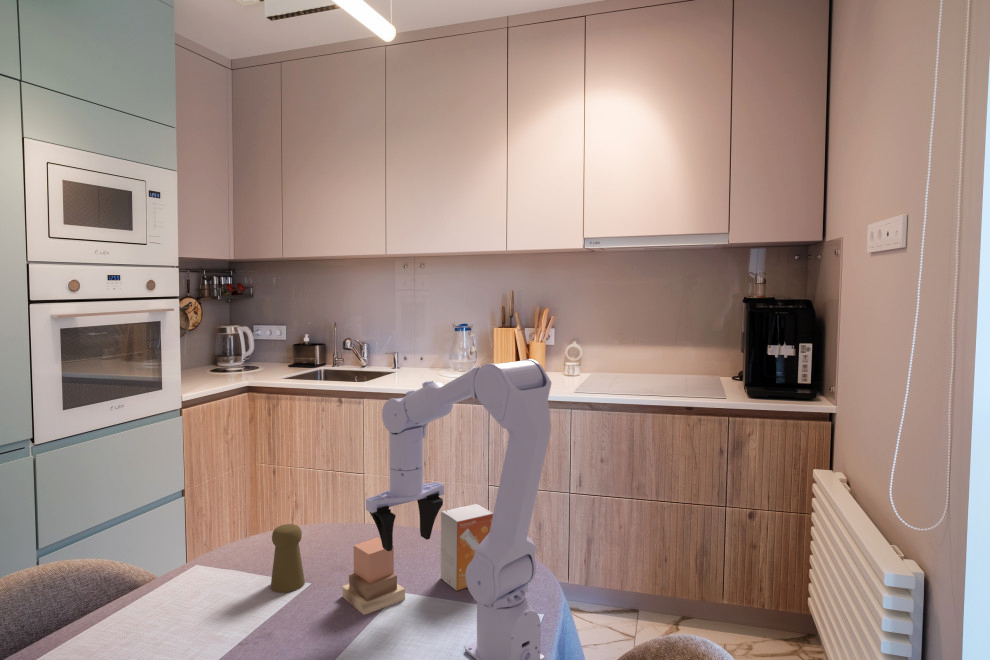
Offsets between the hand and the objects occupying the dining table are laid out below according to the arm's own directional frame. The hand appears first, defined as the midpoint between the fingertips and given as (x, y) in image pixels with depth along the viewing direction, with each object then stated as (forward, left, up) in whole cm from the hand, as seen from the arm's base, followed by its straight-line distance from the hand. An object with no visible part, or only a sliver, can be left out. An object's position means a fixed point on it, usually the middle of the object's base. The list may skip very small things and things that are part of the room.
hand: (406, 543), depth 104 cm
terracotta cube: (+5, +4, -6) cm, 9 cm away
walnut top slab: (+4, +4, -8) cm, 10 cm away
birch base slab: (+5, +4, -11) cm, 13 cm away
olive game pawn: (+19, +14, -11) cm, 26 cm away
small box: (0, -13, -11) cm, 17 cm away
